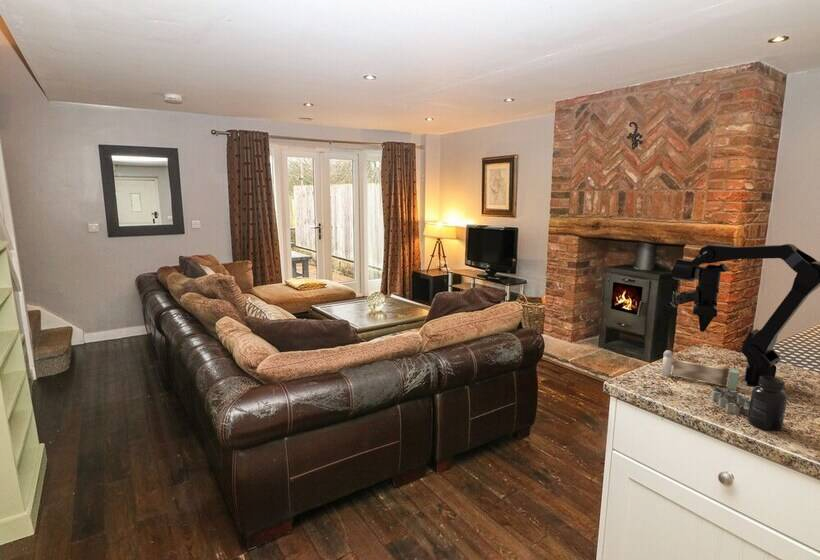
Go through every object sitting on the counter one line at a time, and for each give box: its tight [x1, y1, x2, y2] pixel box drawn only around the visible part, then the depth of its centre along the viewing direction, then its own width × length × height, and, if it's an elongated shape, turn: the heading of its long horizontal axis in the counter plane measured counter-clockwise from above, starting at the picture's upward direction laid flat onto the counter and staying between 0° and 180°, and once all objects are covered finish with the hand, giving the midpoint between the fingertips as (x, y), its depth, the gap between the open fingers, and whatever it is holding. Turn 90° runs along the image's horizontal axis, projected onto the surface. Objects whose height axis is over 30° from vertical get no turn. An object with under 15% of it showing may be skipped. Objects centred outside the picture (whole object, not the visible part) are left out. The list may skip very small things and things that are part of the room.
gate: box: [672, 359, 730, 386], centre depth 138 cm, size 14×2×5 cm, turn 56°
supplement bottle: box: [747, 376, 788, 432], centre depth 112 cm, size 7×7×12 cm
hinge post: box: [661, 349, 674, 377], centre depth 143 cm, size 3×3×8 cm
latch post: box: [727, 367, 740, 391], centre depth 134 cm, size 2×4×5 cm, turn 147°
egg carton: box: [710, 385, 751, 416], centre depth 123 cm, size 11×8×4 cm
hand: (702, 331), depth 148 cm, fingers closed
